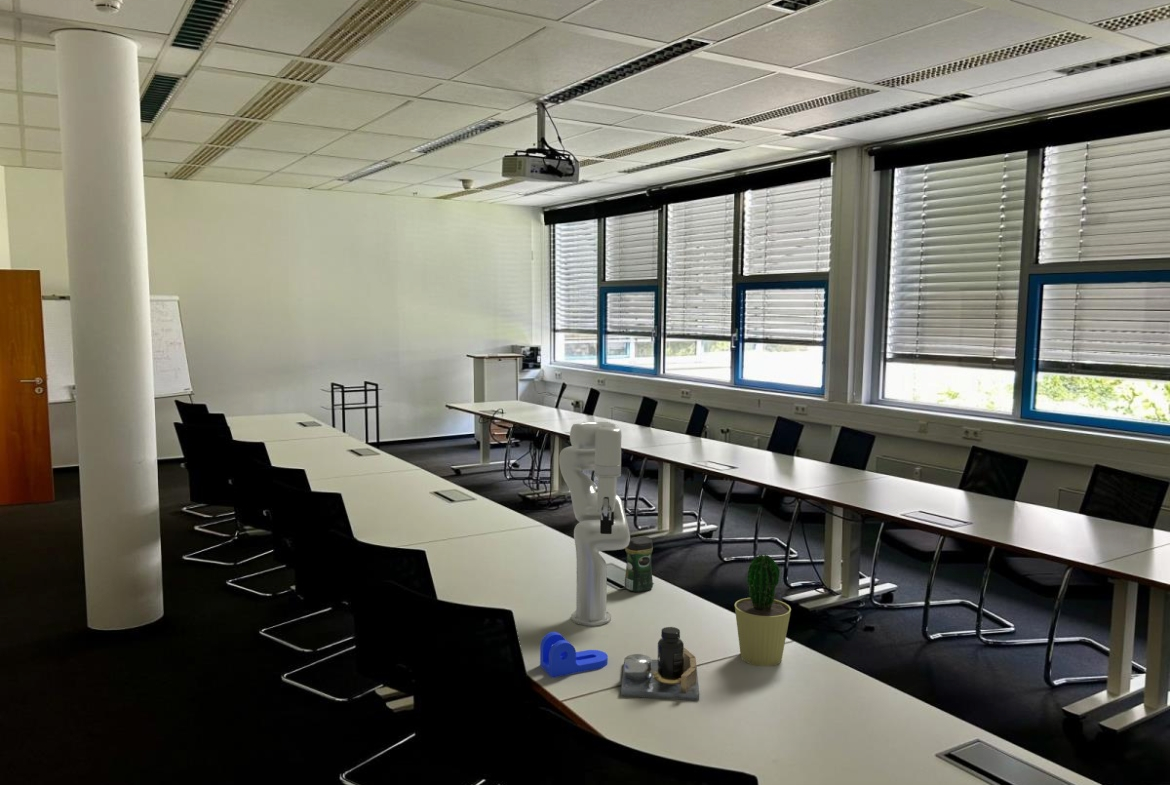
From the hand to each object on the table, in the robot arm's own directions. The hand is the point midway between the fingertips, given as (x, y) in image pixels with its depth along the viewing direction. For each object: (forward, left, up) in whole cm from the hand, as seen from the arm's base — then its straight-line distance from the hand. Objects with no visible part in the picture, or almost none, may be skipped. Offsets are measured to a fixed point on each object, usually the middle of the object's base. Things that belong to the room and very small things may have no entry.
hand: (607, 529), depth 232 cm
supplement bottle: (+22, +18, -33) cm, 43 cm away
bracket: (+15, -7, -35) cm, 38 cm away
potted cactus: (+4, +44, -34) cm, 56 cm away
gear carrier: (+22, +15, -34) cm, 43 cm away
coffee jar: (-51, +8, -34) cm, 62 cm away
